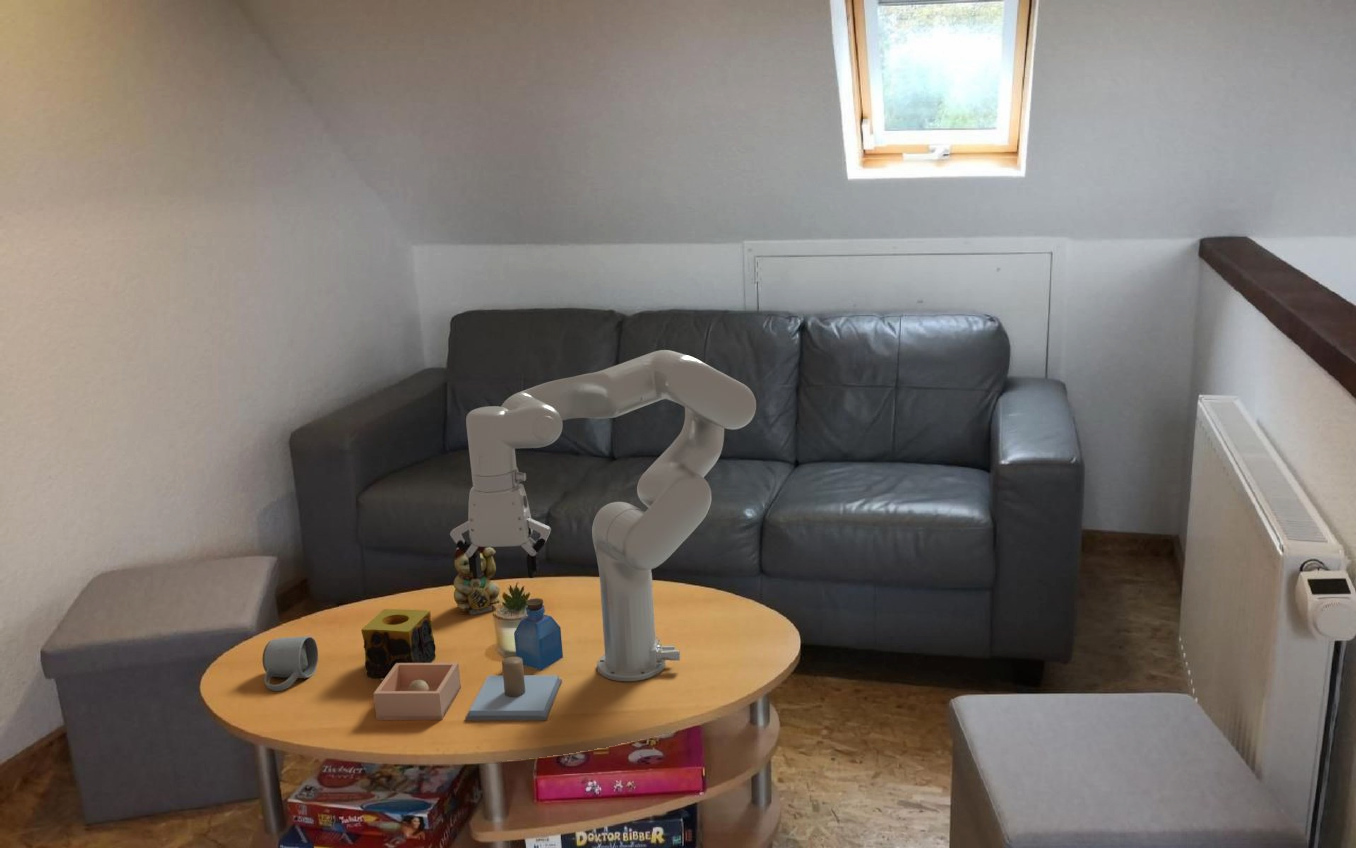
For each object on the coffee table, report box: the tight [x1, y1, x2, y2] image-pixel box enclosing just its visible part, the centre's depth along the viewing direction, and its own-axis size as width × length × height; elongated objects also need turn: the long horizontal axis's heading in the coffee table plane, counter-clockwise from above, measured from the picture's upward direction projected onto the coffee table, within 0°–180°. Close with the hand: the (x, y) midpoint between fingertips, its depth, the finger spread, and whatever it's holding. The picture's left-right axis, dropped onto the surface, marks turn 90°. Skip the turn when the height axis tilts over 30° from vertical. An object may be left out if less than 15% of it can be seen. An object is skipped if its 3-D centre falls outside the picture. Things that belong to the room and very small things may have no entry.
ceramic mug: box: [261, 635, 319, 692], centre depth 210 cm, size 11×8×8 cm
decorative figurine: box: [453, 547, 501, 616], centre depth 238 cm, size 10×8×15 cm
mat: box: [465, 678, 563, 722], centre depth 198 cm, size 14×14×1 cm
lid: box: [468, 656, 560, 716], centre depth 197 cm, size 13×13×7 cm
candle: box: [361, 608, 437, 680], centre depth 212 cm, size 10×10×10 cm
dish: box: [373, 662, 462, 721], centre depth 198 cm, size 12×12×5 cm
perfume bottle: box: [513, 597, 564, 671], centre depth 212 cm, size 6×6×12 cm
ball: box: [408, 680, 429, 691], centre depth 198 cm, size 4×4×4 cm
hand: (505, 575), depth 193 cm, fingers open, 9 cm apart
